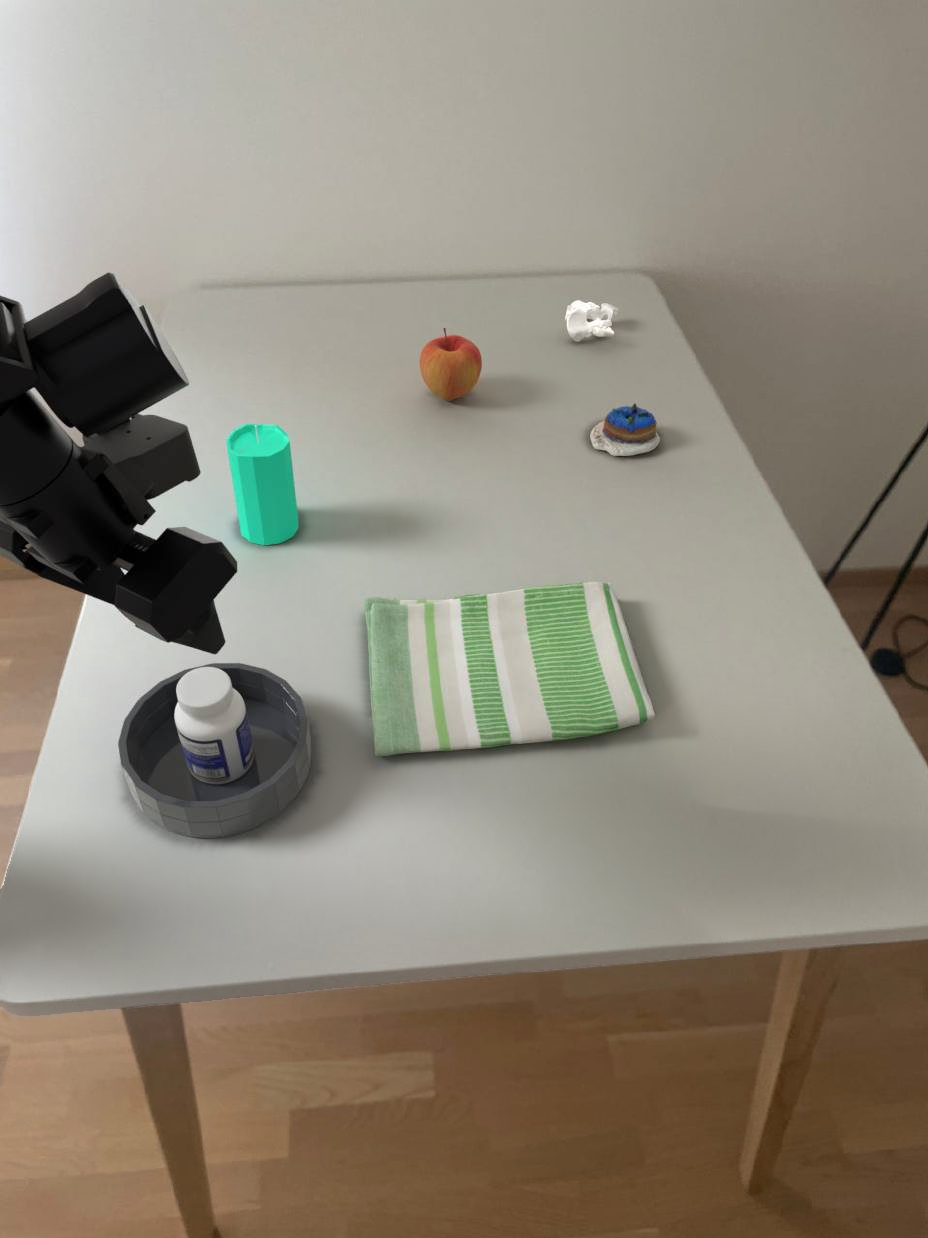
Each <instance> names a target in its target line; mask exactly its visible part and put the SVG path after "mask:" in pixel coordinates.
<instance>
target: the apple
mask: <svg viewBox="0 0 928 1238" xmlns="http://www.w3.org/2000/svg"><path fill="white" fill-rule="evenodd" d="M442 330H443V333H444V335H443V336H440V337H436V338H434V339H432V340H430V341H428V342H427V343H426V344H425V345H424V346H423V347H422V350H421V351H420V356H419V370H420V371H419V372H420V374H421V377H422V380H423V382H424V384H425V386H426V387H427V388H428V389H429V391H431V392H432V393H433V394H435V395H437V396H438V397H440V398H442V399H444V400H445V401H447V402H451V401H453V400H455V399H457V398H460V397H462V396H466V395H467V394H468V393H470V392H471V391H472V390H473V389H474V388H475V386H476V384H477V383H478V381H479V378H480V375H481V373H482V367H483V360H482V354H481V351H480V349H479V347H478V346H477V345H476V344H475V343H474V342H473V341H472V340H470V339H468V338H466V337H464V336H461V335H457V334H447V328H446V327H443V328H442Z"/></svg>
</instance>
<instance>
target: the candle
mask: <svg viewBox="0 0 928 1238" xmlns="http://www.w3.org/2000/svg"><path fill="white" fill-rule="evenodd" d="M225 442H226V448H227V449H226V450H227V456H228V462H229V468H230V474H231V479H232V486H233V492H234V498H235V504H236V511H237V512H236V513H237V517H238V523H239V529H240V535H241V536H242V537H243V538H245V540H247V541H248V542H249V543H253V544H257V545H261V546H269V545H277V544H282V543H284V542H286V541H288V540H290V539H291V538H294V536H295V534H296V533H297V531H298V530H299V528H300V524H299V514H298V506H297V496H296V495H297V494H296V487H295V478H294V477H295V476H294V469H293V468H294V466H293V460H292V450H291V441H290V437H289V434H287V433H286V431H285V430H283V428H282V427H280V426H279V425H278V424H261V423H244V424H242V425H241V426H239V427H237V428H235V429H233V430H232V431H231V432H230V434H229V435H228V436H227V438H226V439H225Z"/></svg>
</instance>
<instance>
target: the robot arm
mask: <svg viewBox="0 0 928 1238" xmlns="http://www.w3.org/2000/svg"><path fill="white" fill-rule="evenodd" d="M189 385H190V382H189V378H188V376H187V374H186V372H185V370H184V368H183V366H182V364H181V362H180V360H179V358H178V357H177V355H176V353H175V351H174V350H173V348H172V346H171V345H170V343H169V341H168V340H167V337H165V335H164V333H163V331H162V329H161V328H160V327H159V325H158V323H157V322H156V321H155V318H154V317H153V316H152V314H151V312H149V310H148V309H147V307H146V306H145V305H144V304H143V305H140V303H139V302H138V301H137V299H136V298H135V297H134V295H132V293H131V292H130V291H129V290H128V289H127V288H126V289H125V288H124V286H123V285H122V283H121V282H120V280H119V279H118V277H117V276H116V275H115V273H112V272H106V273H105V274H103V275H100V276H99V277H97V278H96V279H94V280H92V281H90V282H89V283H88V284H86V286H84V288H82V289H81V290H80V291H79V292H78V293H76V294H75V295H73V296H71V297H70V298H68V299H66V300H63V301H62V302H60V303H59V304H57V305H55V306H53V307H51V308H50V309H48V310H46V311H44V312H43V313H40V314H39V315H37V316H36V317H34V318H32V319H30V320H27V319H26V316H25V311H24V308H23V305H22V303H21V302H20V301H18V300H14V299H11V298H10V297H6V296H3V295H0V555H1V557H3V558H5V559H7V560H9V561H10V562H13V563H15V564H17V565H18V566H19V567H20V568H22V569H25V570H26V571H29V572H30V573H32V574H34V575H36V576H37V577H40V578H42V579H45V580H48V581H50V582H52V583H55V584H58V585H61V586H63V587H65V588H69V589H71V590H74V591H76V592H79V593H81V594H84V595H86V596H89V597H91V598H94V599H97V600H100V601H102V602H103V603H107V604H110V605H112V606H114V607H115V608H116V609H117V610H118V612H119V613H120V614H121V615H123V617H125V618H126V619H127V620H129V621H130V622H131V623H133V624H134V627H135V628H137V629H139V630H141V631H142V632H144V633H147V634H149V635H150V636H152V637H154V638H156V639H158V640H159V641H163V642H165V643H167V644H169V643H174V644H178V645H181V646H184V647H189V648H191V649H195V650H199V651H201V652H205V653H208V654H211V655H217V654H218V653H220V651H221V650H222V648H223V647H224V646H225V645H226V639H225V635H224V632H223V628H222V625H221V621H220V617H219V614H218V611H217V608H216V604H215V603H216V602H215V599H216V598H217V596H218V595H219V594H220V593H221V592H222V591H223V590H224V588H225V587H226V586H227V584H229V582H230V581H231V580H232V579H233V577H234V576H235V575H236V574H237V573H238V561H237V559H236V558H235V557H234V556H233V554H232V553H231V552H230V550H229V549H228V548H227V546H226V545H225V544H224V543H223V541H220V540H218V539H216V538H213V537H210V536H208V535H206V534H203V533H201V532H199V531H197V530H194V529H191V528H189V527H187V526H178V527H177V526H176V527H166V529H165V530H164V531H163V532H162V533H161V534H160V535H159V536H158V537H157V538H153V537H151V536H148V535H147V534H144V533H142V532H139V531H137V530H135V528H136V527H137V526H138V525H139V526H144V525H145V524H146V523H147V522H148V521H149V520H150V519H151V518H152V517H153V516H154V514H155V513H156V509H155V508H154V507H153V506H152V504H151V503H150V502H149V500H153V499H155V498H157V497H159V496H161V495H163V494H164V493H166V492H168V491H170V490H172V489H173V488H176V487H178V486H179V485H181V484H183V483H185V482H188V483H190V482H192V481H194V480H196V479H197V478H198V477H199V476H200V475H201V468H200V464H199V461H198V458H197V453H196V451H195V447H194V444H193V441H192V436H191V433H190V430H189V427H188V426H187V425H186V424H184V423H182V422H179V421H175V420H172V419H169V418H165V417H162V416H159V415H157V414H140V413H141V412H143V411H145V410H147V409H148V408H151V407H152V406H154V405H156V404H158V403H160V402H162V401H163V400H166V398H168V397H170V396H172V395H175V394H176V393H178V392H179V391H181V390H182V389H185V388H186V387H188V386H189ZM32 389H35V390H36V392H37V393H38V394H39V395H40V397H41V398H42V399H43V400H44V402H45V403H46V405H47V406H48V407H49V409H50V410H51V411H52V412H53V414H54V415H55V416H56V417H57V419H58V420H60V422H62V424H64V426H66V427H67V428H69V429H73V428H75V429H76V430H77V431H78V432H79V433H80V434H81V435H82V442H83V445H82V446H79V445H78V444H77V443H76V442H75V440H74V439H72V437H71V436H70V435H69V434H68V432H67V431H66V429H64V428H63V427H62V426H61V424H60V423H59V422H58V421H57V420H56V418H55V417H54V416H53V414H51V412H50V411H49V410H48V409H47V408H46V407H45V405H44V404H43V403H42V402H41V401H40V400H39V398H38V397H37V396H36V395H35V394H34V393H33V391H32ZM123 570H124V571H127V572H126V573H124V571H123Z"/></svg>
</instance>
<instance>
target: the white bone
mask: <svg viewBox="0 0 928 1238" xmlns="http://www.w3.org/2000/svg"><path fill="white" fill-rule="evenodd" d="M619 309H620V308H618V307H616V306H614V305H612V304H611V303H606V302H603V303H601V304H600V306H599V305H597V304H595V303H594V302H591V301H589V302H583V301H582V300H575V301H574V302H572V303H570V305H569V304H568V305H567V308H566V314H565V318H564V322H566V328H567V332H568V334H569V336H570V338H572V340H573V341H575V342H576V343H580V342H582V340H583V339H585V338H587V339H589V338H590V337H592V336H596V337H598V338H604V337H609V338H614V336H615V331H614V330H613V329H612V325H613V323H612V318H613V315H614V316H618V313H619ZM604 316H607V319H603V318H604ZM588 319H589V320H590V322H589V321H588ZM602 319H603V320H602ZM591 320H592V321H591Z"/></svg>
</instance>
